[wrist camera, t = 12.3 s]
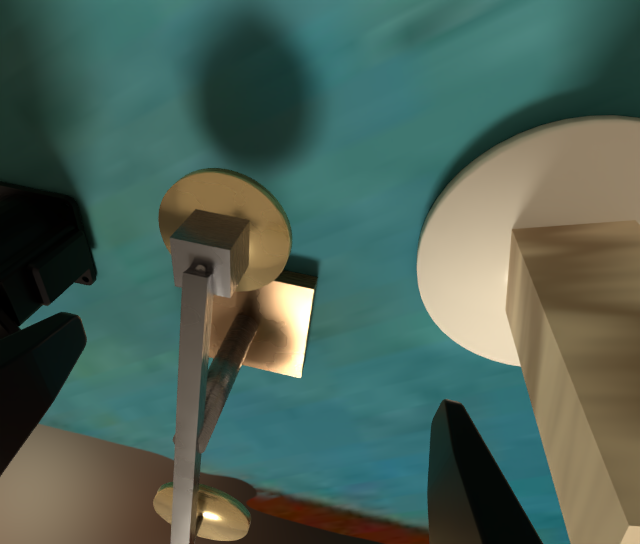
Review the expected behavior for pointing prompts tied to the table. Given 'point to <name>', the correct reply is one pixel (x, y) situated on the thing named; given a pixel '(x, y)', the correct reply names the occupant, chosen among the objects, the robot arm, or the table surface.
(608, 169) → the saucer
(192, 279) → the balance
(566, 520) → the birch block
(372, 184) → the table surface
